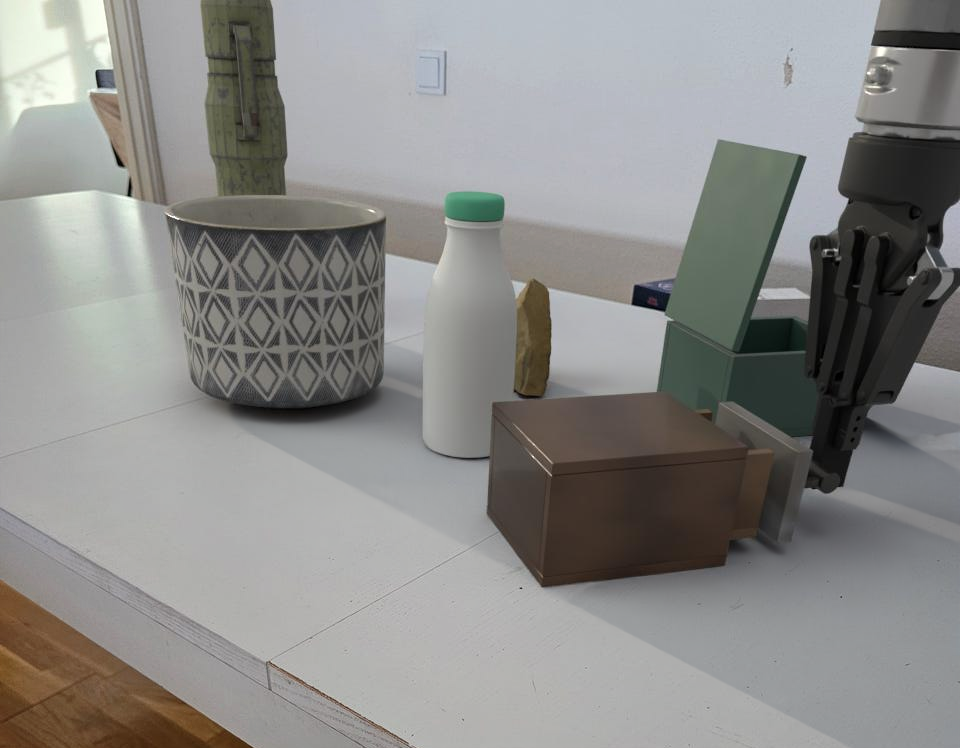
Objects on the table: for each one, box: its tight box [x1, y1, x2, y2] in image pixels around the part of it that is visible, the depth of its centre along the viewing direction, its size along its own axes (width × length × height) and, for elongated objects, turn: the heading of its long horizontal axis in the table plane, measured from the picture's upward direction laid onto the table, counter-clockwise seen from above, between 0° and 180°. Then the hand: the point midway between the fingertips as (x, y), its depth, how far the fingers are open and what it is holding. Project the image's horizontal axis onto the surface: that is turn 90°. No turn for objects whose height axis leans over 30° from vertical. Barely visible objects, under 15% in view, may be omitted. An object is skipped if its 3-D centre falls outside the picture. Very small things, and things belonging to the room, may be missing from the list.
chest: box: [656, 315, 823, 438], centre depth 90 cm, size 15×13×8 cm
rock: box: [514, 278, 553, 397], centre depth 95 cm, size 11×9×10 cm
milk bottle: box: [422, 190, 517, 459], centre depth 76 cm, size 8×8×20 cm
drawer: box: [694, 402, 840, 544], centre depth 67 cm, size 17×10×7 cm, turn 108°
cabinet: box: [486, 391, 749, 588], centre depth 65 cm, size 14×12×9 cm
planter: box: [164, 194, 387, 410], centre depth 87 cm, size 19×19×16 cm
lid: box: [664, 138, 807, 352], centre depth 82 cm, size 15×13×1 cm
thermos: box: [199, 0, 289, 197], centre depth 108 cm, size 9×12×35 cm
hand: (822, 484), depth 71 cm, fingers closed
